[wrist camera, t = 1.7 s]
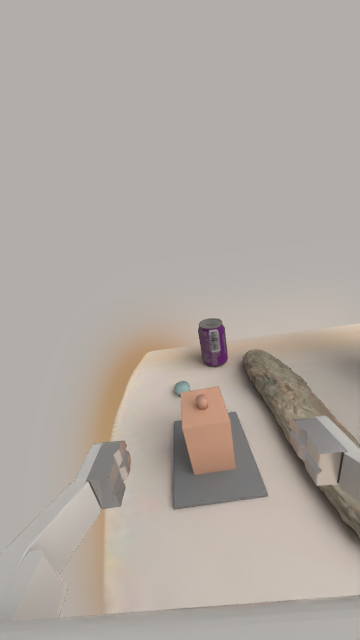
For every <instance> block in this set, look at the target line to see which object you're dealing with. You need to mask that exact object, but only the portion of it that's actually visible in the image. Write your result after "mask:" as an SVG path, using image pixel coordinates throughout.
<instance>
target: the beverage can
mask: <svg viewBox="0 0 360 640" xmlns="http://www.w3.org/2000/svg"><path fill="white" fill-rule="evenodd" d="M198 333H199V339H200V345H201V351H202V358H203V361H204V363H205V364H207V365H211V366H218V365H222V364H224V363H225V362H226V361H227V359H228V356H227V346H226V338H225V328H224V326H223V324H222V321H221V320H220V319H215V318H212V319H206V320H203V321H201V322H200V323H199V329H198Z"/></svg>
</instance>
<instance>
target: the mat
mask: <svg viewBox="0 0 360 640" xmlns="http://www.w3.org/2000/svg"><path fill="white" fill-rule="evenodd" d="M228 416H229V419H230V423H231V431H232V440H233V449H234V457H235V466H236V469H233V470H226V471H219V472H212V473H206V474H199V475H194V472H193V468H192V464H191V460H190V456H189V453H188V449H187V445H186V441H185V437H184V433H183V430H182V420H181V421H175V422H174V509H180V508H187V507H194V506H201V505H208V504H215V503H222V502H229V501H237V500H244V499H251V498H258V497H265V496H268V493H267V491H266V488H265V485H264V483H263V480H262V478H261V475H260V473H259V470H258V467H257V465H256V462H255V460H254V457H253V455H252V452H251V449H250V447H249V444H248V442H247V439H246V437H245V434H244V431H243V429H242V426H241V424H240V421H239V419H238V416H237V413H236V412H231V413H228Z"/></svg>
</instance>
